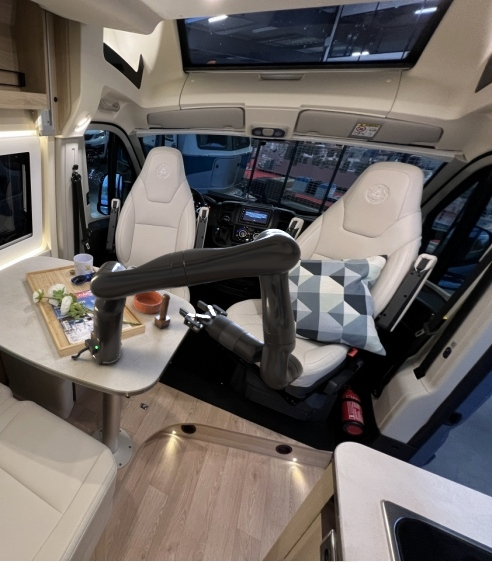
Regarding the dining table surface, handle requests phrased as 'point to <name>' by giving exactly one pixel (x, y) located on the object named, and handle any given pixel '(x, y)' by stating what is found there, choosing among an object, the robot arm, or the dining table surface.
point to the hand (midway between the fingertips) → (189, 306)
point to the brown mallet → (163, 313)
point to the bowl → (148, 302)
